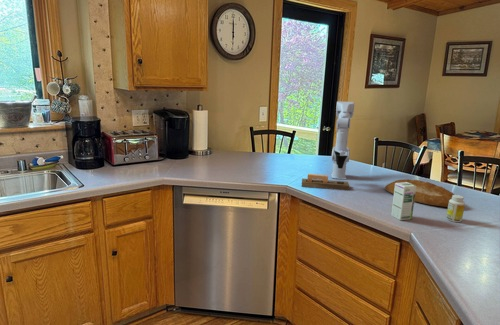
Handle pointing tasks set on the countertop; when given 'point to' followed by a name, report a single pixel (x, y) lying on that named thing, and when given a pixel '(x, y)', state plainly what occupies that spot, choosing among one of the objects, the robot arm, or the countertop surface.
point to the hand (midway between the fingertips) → (339, 166)
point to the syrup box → (403, 200)
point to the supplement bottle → (455, 208)
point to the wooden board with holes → (326, 184)
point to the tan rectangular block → (317, 177)
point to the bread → (426, 192)
